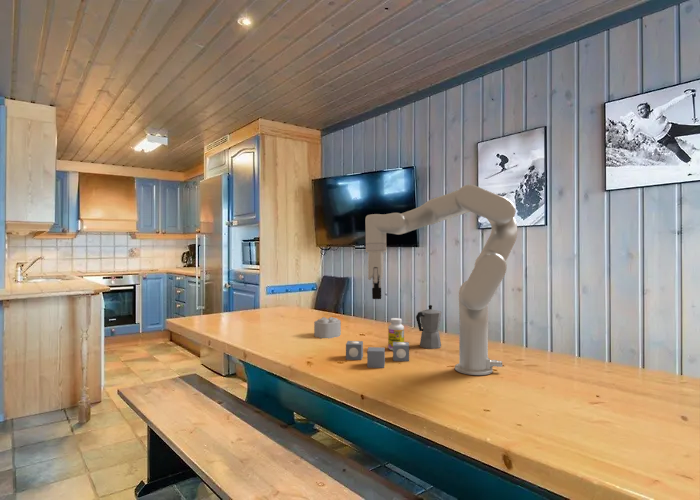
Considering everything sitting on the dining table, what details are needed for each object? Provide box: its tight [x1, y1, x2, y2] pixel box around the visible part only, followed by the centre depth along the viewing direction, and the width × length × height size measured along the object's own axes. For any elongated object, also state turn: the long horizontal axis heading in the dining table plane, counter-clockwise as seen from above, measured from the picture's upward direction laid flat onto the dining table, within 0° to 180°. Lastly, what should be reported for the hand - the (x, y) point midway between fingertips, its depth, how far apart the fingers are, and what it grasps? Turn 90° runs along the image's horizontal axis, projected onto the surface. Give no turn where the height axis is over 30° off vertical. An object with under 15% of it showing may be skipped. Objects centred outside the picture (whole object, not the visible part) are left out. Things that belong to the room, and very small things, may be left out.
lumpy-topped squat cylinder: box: [313, 316, 342, 339], centre depth 210 cm, size 10×13×9 cm
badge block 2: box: [392, 341, 410, 362], centre depth 165 cm, size 6×6×6 cm
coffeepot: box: [415, 304, 442, 350], centre depth 185 cm, size 15×9×18 cm, turn 129°
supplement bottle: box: [387, 317, 405, 351], centre depth 181 cm, size 7×7×13 cm
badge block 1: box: [345, 340, 364, 361], centre depth 167 cm, size 6×6×6 cm
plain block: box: [366, 346, 386, 369], centre depth 156 cm, size 6×6×6 cm
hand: (376, 298), depth 156 cm, fingers closed
